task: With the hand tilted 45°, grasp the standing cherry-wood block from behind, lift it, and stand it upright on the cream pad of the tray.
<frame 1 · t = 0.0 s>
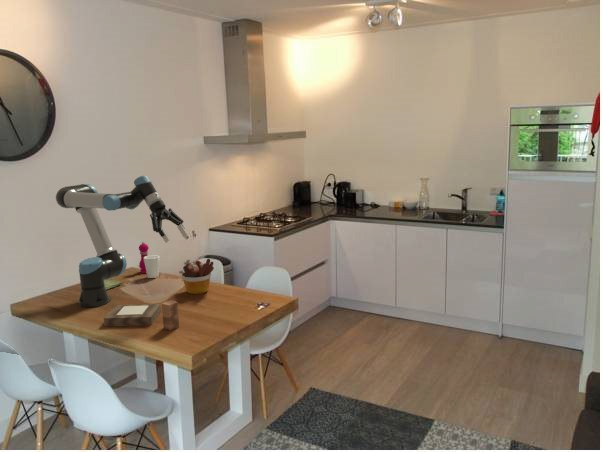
hand: (177, 238, 264), 36 cm above the table, tool tilted 35°, fingers open, 13 cm apart
tray: (133, 318, 256), on the table
foam cup: (153, 277, 325), on the table
bucket of meat: (198, 291, 296), on the table
washcloth: (104, 287, 310), on the table
cherry block: (171, 327, 244), on the table
pepper mill: (145, 272, 338), on the table
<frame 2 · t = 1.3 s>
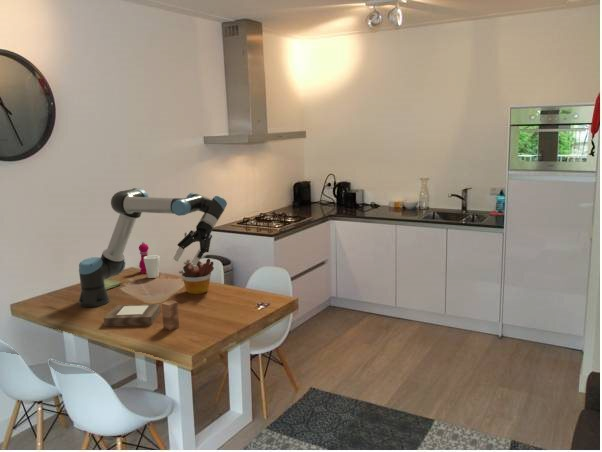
hand: (184, 261, 246), 29 cm above the table, tool tilted 45°, fingers open, 13 cm apart
nothing on the table moved.
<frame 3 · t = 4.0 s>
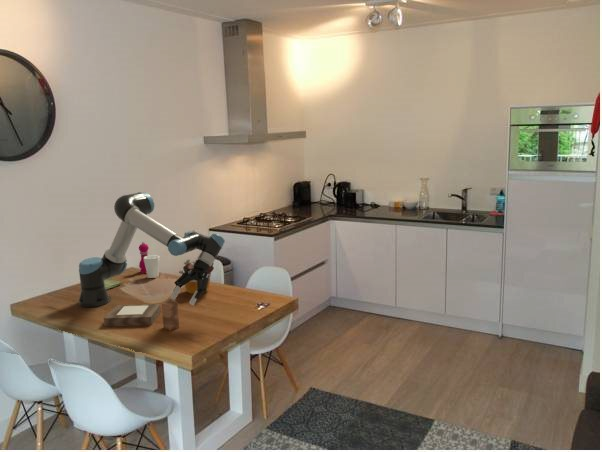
hand: (181, 301, 246), 11 cm above the table, tool tilted 45°, fingers open, 13 cm apart
nothing on the table moved.
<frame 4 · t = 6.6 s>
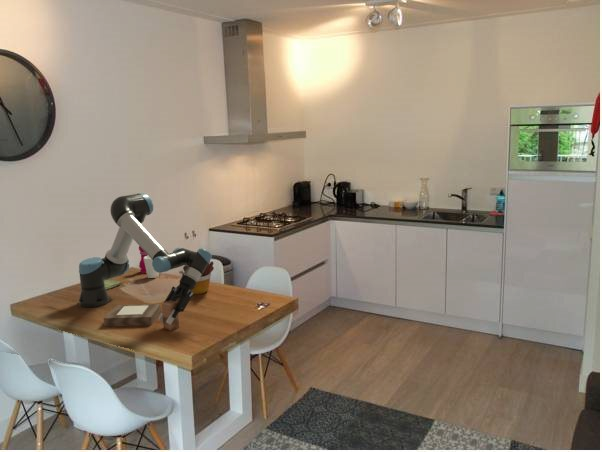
hand: (164, 322, 240), 4 cm above the table, tool tilted 45°, fingers closed on cherry block, 5 cm apart
cherry block: (171, 327, 244), on the table, touching gripper
everything else where it was.
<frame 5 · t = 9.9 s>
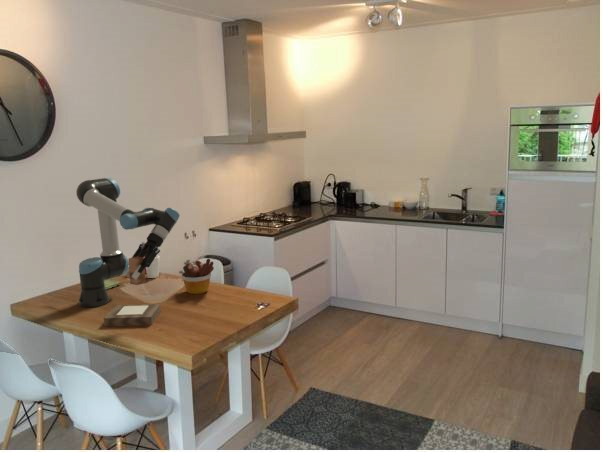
hand: (130, 276, 246), 23 cm above the table, tool tilted 45°, fingers closed on cherry block, 5 cm apart
cherry block: (137, 282, 250), point 19 cm above the table, touching gripper
everything else where it was.
when the fingers open (9 cm above the table, at t = 13.1 s): cherry block stays where it is, resting on tray.
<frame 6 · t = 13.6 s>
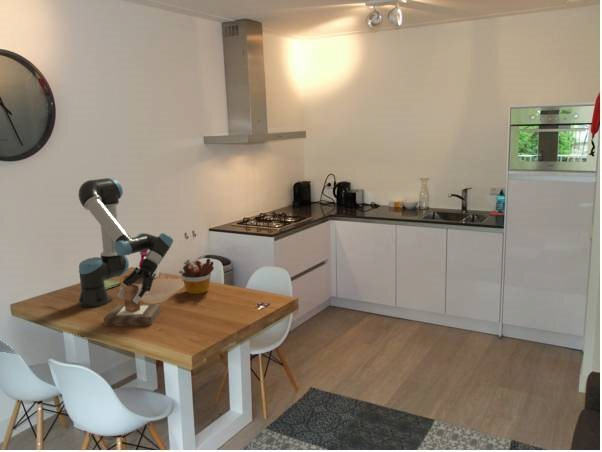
hand: (127, 299, 252), 10 cm above the table, tool tilted 45°, fingers open, 12 cm apart
cherry block: (132, 310, 255), point 4 cm above the table, touching tray
everything else where it was.
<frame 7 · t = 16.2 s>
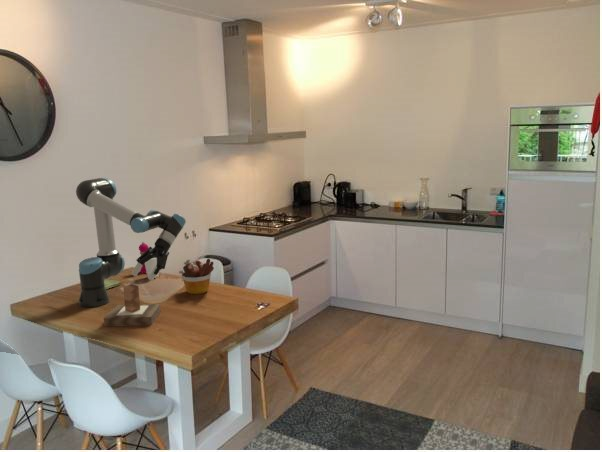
hand: (141, 277, 257), 19 cm above the table, tool tilted 45°, fingers open, 13 cm apart
nothing on the table moved.
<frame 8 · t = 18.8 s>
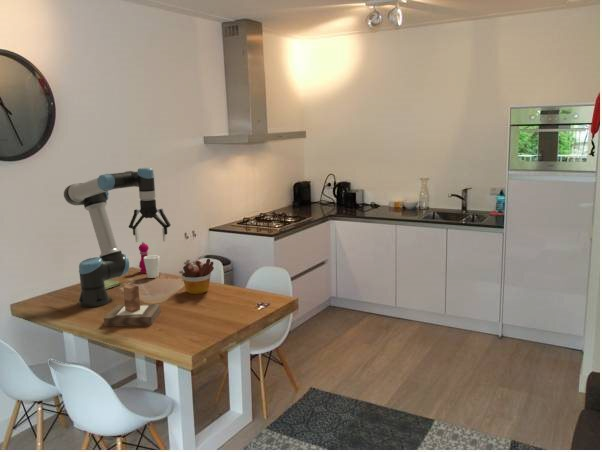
hand: (150, 241, 265), 35 cm above the table, tool pointing down, fingers open, 13 cm apart
nothing on the table moved.
at the end: cherry block inside the target area on the tray (0.0 cm from its centre), point 4.4 cm above the tray's base; cherry block tilted 0°; the gripper is holding nothing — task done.
